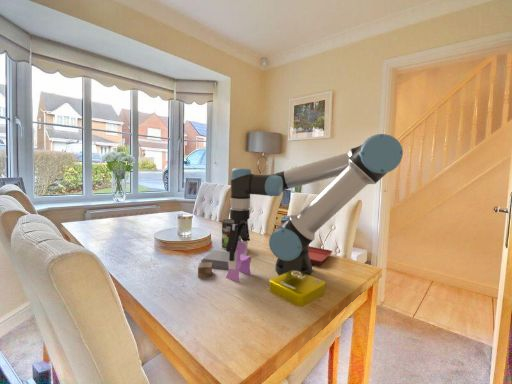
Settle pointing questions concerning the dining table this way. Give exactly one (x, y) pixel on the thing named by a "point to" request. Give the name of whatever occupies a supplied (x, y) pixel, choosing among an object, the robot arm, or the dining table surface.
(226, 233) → the coffee can
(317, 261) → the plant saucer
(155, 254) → the dining table surface
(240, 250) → the chair
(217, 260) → the plinth
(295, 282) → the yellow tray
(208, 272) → the walnut block
